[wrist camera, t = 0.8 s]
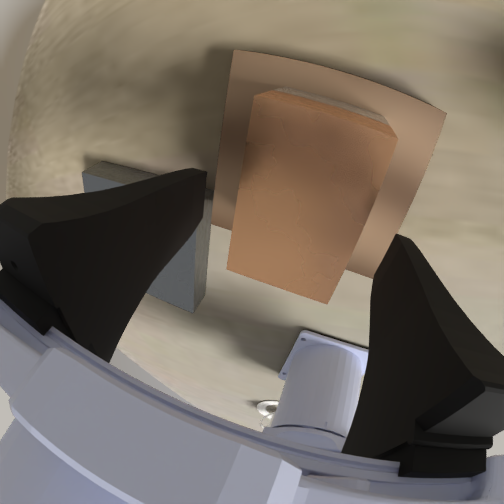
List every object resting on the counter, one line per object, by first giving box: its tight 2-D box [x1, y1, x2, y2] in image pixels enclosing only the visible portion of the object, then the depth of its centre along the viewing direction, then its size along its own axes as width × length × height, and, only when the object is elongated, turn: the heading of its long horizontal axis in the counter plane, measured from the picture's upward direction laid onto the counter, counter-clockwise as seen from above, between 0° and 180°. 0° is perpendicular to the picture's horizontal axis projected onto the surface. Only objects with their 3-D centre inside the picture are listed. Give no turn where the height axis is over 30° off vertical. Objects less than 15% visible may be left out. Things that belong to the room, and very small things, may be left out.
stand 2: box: [211, 50, 447, 279], centre depth 16 cm, size 11×11×2 cm
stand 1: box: [82, 161, 214, 313], centre depth 24 cm, size 11×11×2 cm
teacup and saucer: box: [257, 401, 279, 428], centre depth 37 cm, size 9×8×4 cm
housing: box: [227, 87, 398, 304], centre depth 13 cm, size 8×5×5 cm, turn 170°
